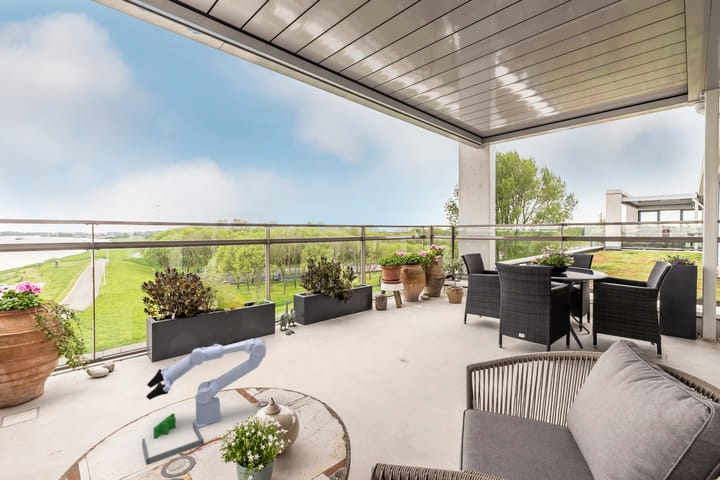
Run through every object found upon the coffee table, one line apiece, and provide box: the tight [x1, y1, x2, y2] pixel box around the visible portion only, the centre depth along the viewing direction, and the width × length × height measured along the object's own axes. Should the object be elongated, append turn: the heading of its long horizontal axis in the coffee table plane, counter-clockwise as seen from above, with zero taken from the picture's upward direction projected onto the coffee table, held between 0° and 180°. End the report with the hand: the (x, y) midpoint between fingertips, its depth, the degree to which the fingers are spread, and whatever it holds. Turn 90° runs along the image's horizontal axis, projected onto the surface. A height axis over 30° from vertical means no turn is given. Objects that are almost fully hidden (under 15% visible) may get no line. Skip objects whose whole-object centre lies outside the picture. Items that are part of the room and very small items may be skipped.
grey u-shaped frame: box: [141, 421, 205, 465], centre depth 132 cm, size 19×16×2 cm
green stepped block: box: [153, 413, 177, 440], centre depth 141 cm, size 11×4×5 cm, turn 173°
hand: (148, 391), depth 141 cm, fingers open, 7 cm apart
